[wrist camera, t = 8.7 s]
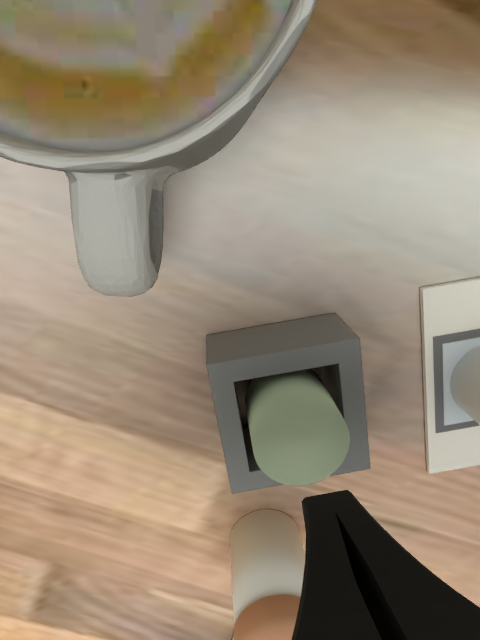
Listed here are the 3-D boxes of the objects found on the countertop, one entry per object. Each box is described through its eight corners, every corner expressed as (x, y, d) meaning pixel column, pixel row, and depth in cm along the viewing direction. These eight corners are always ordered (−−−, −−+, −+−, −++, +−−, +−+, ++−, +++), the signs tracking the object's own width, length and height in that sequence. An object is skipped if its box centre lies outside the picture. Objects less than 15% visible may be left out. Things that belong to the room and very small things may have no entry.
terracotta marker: (304, 561, 25) (338, 699, 18) (234, 573, 25) (243, 716, 18) (296, 503, 24) (330, 627, 17) (223, 515, 24) (228, 645, 17)
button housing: (346, 426, 23) (370, 468, 19) (227, 447, 22) (231, 493, 19) (335, 312, 21) (359, 338, 17) (206, 335, 21) (206, 365, 17)
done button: (329, 428, 21) (353, 476, 17) (251, 442, 20) (260, 493, 17) (321, 355, 19) (345, 392, 16) (239, 370, 19) (245, 409, 16)
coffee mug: (11, -168, 15) (-329, -770, 5) (297, -79, 16) (426, -444, 7) (-13, 231, 19) (-239, 286, 9) (223, 278, 20) (238, 368, 10)
